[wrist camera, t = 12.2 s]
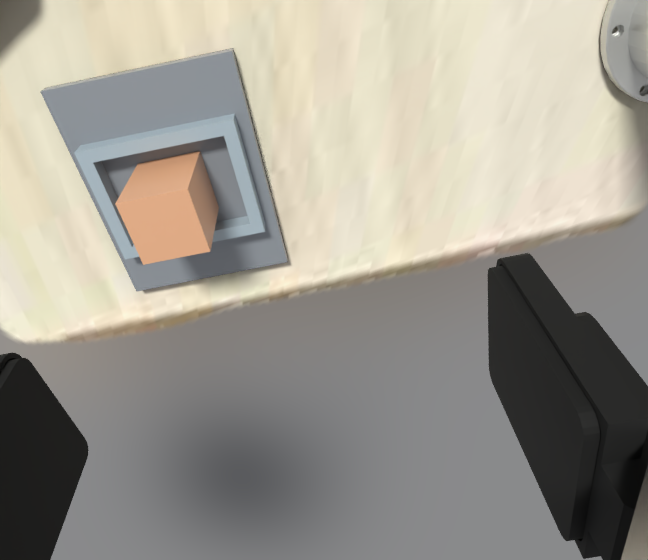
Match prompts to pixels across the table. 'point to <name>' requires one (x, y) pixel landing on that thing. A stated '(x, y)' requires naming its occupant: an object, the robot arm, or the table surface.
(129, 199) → the orange rectangular block
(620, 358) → the robot arm
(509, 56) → the table surface
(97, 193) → the holder dock
